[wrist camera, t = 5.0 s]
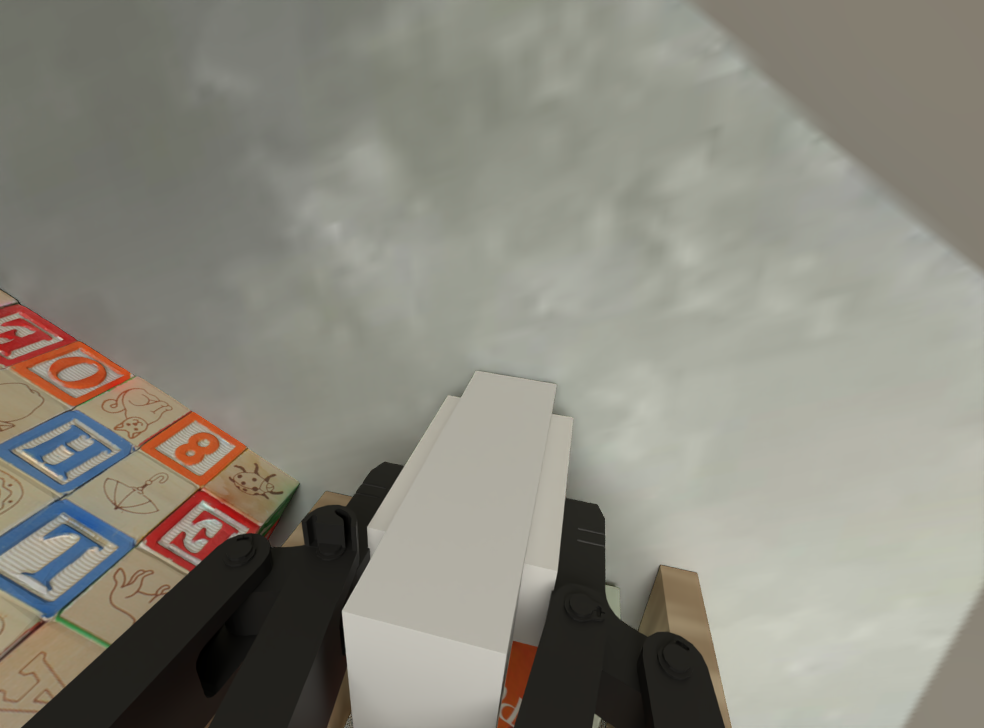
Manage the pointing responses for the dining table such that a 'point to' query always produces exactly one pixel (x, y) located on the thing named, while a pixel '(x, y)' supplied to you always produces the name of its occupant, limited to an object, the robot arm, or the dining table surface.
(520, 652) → the paper cup
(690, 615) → the oak tunnel
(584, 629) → the robot arm
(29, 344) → the stack of blocks
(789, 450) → the dining table surface
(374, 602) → the collar
